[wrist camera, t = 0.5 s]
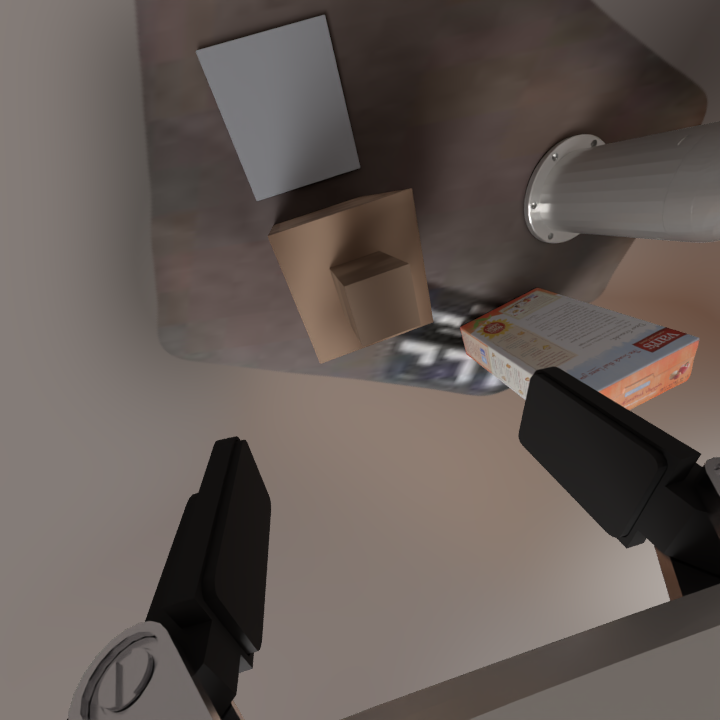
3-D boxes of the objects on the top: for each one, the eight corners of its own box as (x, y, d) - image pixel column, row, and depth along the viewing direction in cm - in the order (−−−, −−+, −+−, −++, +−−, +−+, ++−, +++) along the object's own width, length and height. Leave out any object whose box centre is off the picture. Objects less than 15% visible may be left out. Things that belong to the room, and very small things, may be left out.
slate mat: (324, 18, 27) (324, 14, 26) (359, 168, 33) (360, 167, 32) (197, 54, 26) (195, 50, 25) (257, 201, 32) (256, 201, 31)
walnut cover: (359, 196, 34) (455, 181, 15) (380, 282, 39) (471, 350, 21) (273, 225, 33) (262, 245, 14) (306, 309, 39) (330, 404, 20)
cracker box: (465, 355, 48) (574, 442, 30) (458, 325, 45) (574, 402, 27) (540, 318, 49) (693, 382, 31) (537, 285, 46) (705, 336, 27)
